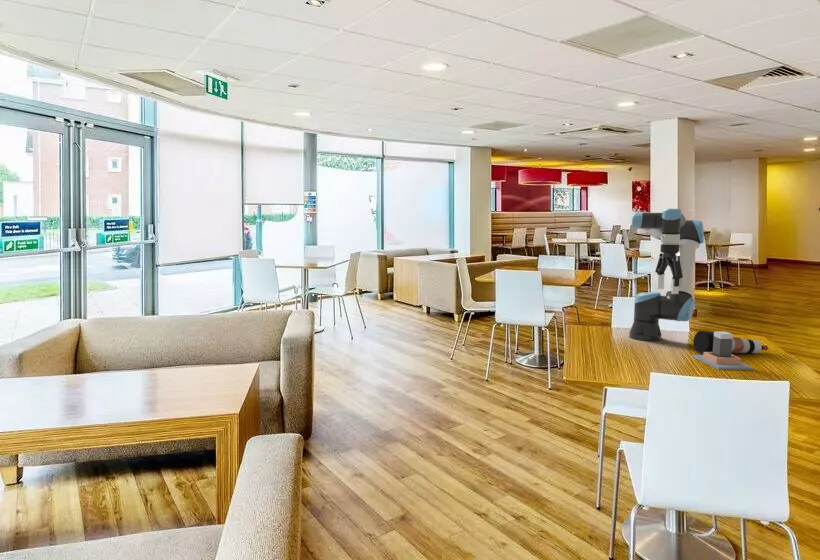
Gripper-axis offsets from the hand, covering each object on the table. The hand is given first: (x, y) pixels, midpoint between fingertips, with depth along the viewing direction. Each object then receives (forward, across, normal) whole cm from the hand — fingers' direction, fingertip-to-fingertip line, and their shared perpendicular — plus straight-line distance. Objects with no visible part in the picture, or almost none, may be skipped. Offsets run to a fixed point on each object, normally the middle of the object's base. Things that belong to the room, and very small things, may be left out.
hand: (667, 291), depth 246 cm
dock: (+28, +18, +16) cm, 37 cm away
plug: (+27, +18, +16) cm, 36 cm away
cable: (+29, +2, +31) cm, 42 cm away
